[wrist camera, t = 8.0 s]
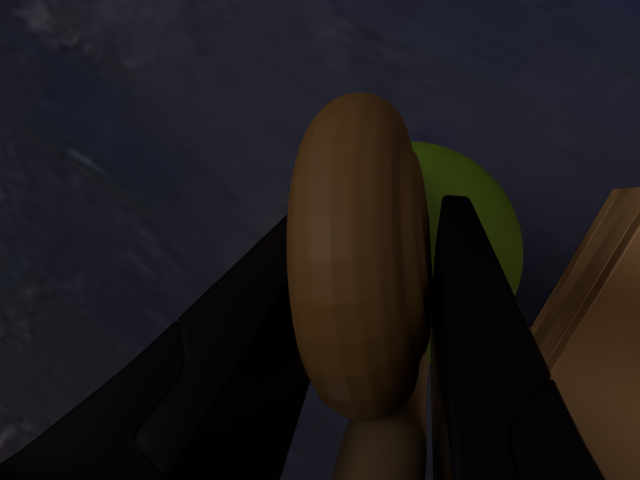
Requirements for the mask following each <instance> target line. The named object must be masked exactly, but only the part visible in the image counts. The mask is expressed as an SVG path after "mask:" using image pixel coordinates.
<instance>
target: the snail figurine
mask: <svg viewBox="0 0 640 480" xmlns="http://www.w3.org/2000/svg"><path fill="white" fill-rule="evenodd" d="M444 195H456V196H467V197H468V198H469V199H470V200H471V202H472V204H473V206H474V208H475V211H476V213H477V215H478V217H479V219H480V221H481V224H482V226H483V228H484V230H485V232H486V234H487V237H488V239H489V241H490V243H491V245H492V247H493V250H494V252H495V254H496V256H497V258H498V260H499V262H500V265H501V267H502V269H503V271H504V273H505V275H506V278H507V280H508V282H509V284H510V286H511V288H512V291H513V293H514V295H516V292H517V289H518V286H519V282H520V278H521V273H522V266H523V241H522V234H521V230H520V226H519V222H518V219H517V216H516V213H515V211H514V209H513V206H512V204H511V202H510V200H509V199H508V197H507V195H506V194H505V192H504V191H503V189H502V188H501V187H500V185H499V184H498V183H497V182H496V180H495V179H494V178H493V177H492V176H491V175H490V174H489V173H488V172H487V171H486V170H485V169H483V168H482V167H481V166H480V165H478V164H477V163H476V162H474V161H473V160H471V159H470V158H468V157H466V156H464V155H463V154H461V153H459V152H456V151H454V150H452V149H449V148H446V147H443V146H440V145H436V144H431V143H426V142H417V141H410V137H409V134H408V131H407V128H406V125H405V123H404V120H403V119H402V117H401V115H400V114H399V113H398V112H397V110H396V109H395V108H394V107H393V106H392V105H391V104H390V103H389V102H388V101H386V100H385V99H383V98H381V97H379V96H377V95H374V94H370V93H351V94H346V95H343V96H341V97H338V98H336V99H334V100H332V101H331V102H329V103H328V104H327V105H326V106H325V107H324V108H323V109H322V110H321V111H320V112H319V113H318V114H317V115H316V116H315V117H314V119H313V120H312V122H311V123H310V125H309V127H308V129H307V131H306V133H305V135H304V138H303V140H302V142H301V145H300V148H299V151H298V155H297V158H296V162H295V166H294V170H293V175H292V181H291V188H290V194H289V204H288V217H287V272H288V287H289V298H290V306H291V313H292V321H293V327H294V332H295V336H296V341H297V345H298V350H299V353H300V356H301V359H302V362H303V365H304V368H305V371H306V373H307V375H308V377H309V379H310V381H311V382H312V384H313V386H314V388H315V390H316V391H317V393H318V395H319V397H320V398H321V399H322V401H323V402H325V403H326V404H327V405H328V406H330V407H331V408H332V409H334V410H335V411H336V412H338V413H339V414H341V415H342V416H344V417H346V418H349V419H350V421H349V423H348V425H347V428H346V431H345V433H344V436H343V439H342V442H341V446H340V449H339V453H338V457H337V461H336V465H335V469H334V474H333V479H332V480H425V473H426V456H427V441H426V388H427V378H428V364H431V362H430V330H431V308H432V305H433V294H432V286H433V271H434V256H435V244H436V237H437V230H438V222H439V215H440V208H441V201H442V197H443V196H444Z"/></svg>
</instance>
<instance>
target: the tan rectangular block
mask: <svg viewBox="0 0 640 480" xmlns="http://www.w3.org/2000/svg"><path fill="white" fill-rule="evenodd" d="M530 329H531V332H532V334H533V336H534V338H535V340H536V342H537V345H538V347H539V349H540V351H541V353H542V355H543V357H544V360H545V362H546V364H547V366H548V368H549V370H550V373H551V378H550V379H553V380H554V381H555V383H556V385H557V387H558V389H559V391H560V394H561V396H562V398H563V400H564V402H565V404H566V406H567V408H568V410H569V412H570V414H571V416H572V418H573V420H574V422H575V424H576V426H577V428H578V430H579V432H580V434H581V436H582V438H583V440H584V442H585V444H586V446H587V448H588V449H589V451H590V453H591V455H592V456H593V458H594V460H595V462H596V463H597V465H598V467H599V469H600V470H601V472H602V474H603V475H604V477H605V479H606V480H640V187H634V188H621V189H613V190H612V191H611V193H610V195H609V196H608V198H607V200H606V201H605V203H604V205H603V206H602V208H601V210H600V212H599V213H598V215H597V217H596V218H595V220H594V222H593V223H592V225H591V227H590V228H589V230H588V232H587V234H586V235H585V237H584V239H583V240H582V242H581V244H580V245H579V247H578V249H577V250H576V252H575V254H574V256H573V257H572V259H571V261H570V262H569V264H568V266H567V267H566V269H565V271H564V272H563V274H562V276H561V278H560V279H559V281H558V283H557V284H556V286H555V288H554V289H553V291H552V293H551V294H550V296H549V298H548V300H547V301H546V303H545V305H544V306H543V308H542V310H541V311H540V313H539V315H538V316H537V318H536V320H535V321H534V323H533V325H532V327H531V328H530Z"/></svg>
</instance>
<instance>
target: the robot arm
mask: <svg viewBox="0 0 640 480" xmlns="http://www.w3.org/2000/svg"><path fill="white" fill-rule="evenodd" d="M287 217H288V214H287V215H286V216H285V217H284V218H283V219H282V220H281V221H280V222H279V223H278V224H277V225H276V226H275V227H273V228H272V229H271V230H270V231H269V232H268V233H267V234H266V235H265V236H264V237H263V238H262V239H261V240H260V241H259V242H258V243H257V244H256V245H255V246H254V247H253V248H251V249H250V250H249V251H248V252H247V253H246V254H245V255H244V256H243V257H242V258H241V259H240V260H239V261H238V262H237V263H236V264H235V265H234V266H233V267H232V268H231V269H229V270H228V271H227V272H226V273H225V274H224V275H223V276H222V277H221V278H220V279H219V280H218V281H217V282H216V283H215V284H214V285H213V286H212V287H211V288H210V289H209V290H207V291H206V292H205V293H204V294H203V295H202V296H201V297H200V298H199V299H198V300H197V301H196V302H195V303H194V304H193V305H192V306H191V307H190V308H189V309H188V310H186V311H185V312H184V313H183V314H182V315H181V316H180V317H179V319H178V321H179V322H177V321H175V322H174V323H173V324H172V325H171V326H169V327H168V328H167V329H166V330H165V331H164V332H163V333H162V334H161V335H160V336H159V337H158V338H157V339H156V340H155V341H154V342H152V343H151V344H150V345H149V346H148V347H147V348H146V349H145V350H144V351H143V352H141V353H140V354H139V355H138V356H137V357H136V358H135V359H134V360H133V361H131V362H130V363H129V364H128V365H127V366H125V367H124V368H123V369H122V370H121V371H119V372H118V373H117V374H116V375H115V376H113V377H112V378H111V379H110V380H109V381H107V382H106V383H105V384H104V385H103V386H101V387H100V388H99V389H98V390H96V391H95V392H94V393H93V394H91V395H90V396H89V397H88V398H86V399H85V400H84V401H82V402H81V403H80V404H79V405H77V406H76V407H75V408H74V409H72V410H71V411H70V412H69V413H67V414H66V415H65V416H64V417H62V418H61V419H60V420H59V421H57V422H56V423H55V424H54V425H52V426H51V427H50V428H48V429H47V430H46V431H45V432H43V433H42V434H41V435H40V436H38V437H37V438H36V439H35V440H33V441H32V442H31V443H30V444H28V445H27V446H25V447H24V448H23V449H21V450H20V451H19V452H17V453H16V454H14V455H13V456H11V457H10V458H8V459H7V460H5V461H4V462H2V463H0V480H280V477H281V474H282V471H283V467H284V464H285V461H286V458H287V454H288V451H289V448H290V445H291V442H292V438H293V435H294V432H295V429H296V425H297V422H298V419H299V416H300V413H301V409H302V406H303V403H304V400H305V396H306V393H307V390H308V387H309V384H310V379H309V377H308V375H307V373H306V371H305V368H304V365H303V362H302V359H301V356H300V353H299V350H298V345H297V341H296V336H295V332H294V327H293V321H292V313H291V306H290V298H289V287H288V272H287ZM432 294H433V305H432V308H431V330H430V362H431V406H432V450H433V480H606V479H605V477H604V475H603V474H602V472H601V470H600V469H599V467H598V465H597V463H596V462H595V460H594V458H593V456H592V455H591V453H590V451H589V449H588V448H587V446H586V444H585V442H584V440H583V438H582V436H581V434H580V432H579V430H578V428H577V426H576V424H575V422H574V420H573V418H572V416H571V414H570V412H569V410H568V408H567V406H566V404H565V402H564V400H563V398H562V396H561V394H560V391H559V389H558V387H557V385H556V383H555V381H554V380H553V379H550V378H551V373H550V370H549V368H548V366H547V364H546V362H545V360H544V357H543V355H542V353H541V351H540V349H539V347H538V345H537V342H536V340H535V338H534V336H533V334H532V332H531V329H530V327H529V325H528V323H527V321H526V319H525V316H524V314H523V312H522V310H521V308H520V306H519V303H518V301H517V299H516V297H515V295H514V293H513V291H512V288H511V286H510V284H509V282H508V280H507V278H506V275H505V273H504V271H503V269H502V267H501V265H500V262H499V260H498V258H497V256H496V254H495V252H494V250H493V247H492V245H491V243H490V241H489V239H488V237H487V234H486V232H485V230H484V228H483V226H482V224H481V221H480V219H479V217H478V215H477V213H476V211H475V208H474V206H473V204H472V202H471V200H470V199H469V198H468V197H467V196H456V195H444V196H443V197H442V201H441V208H440V215H439V222H438V230H437V237H436V244H435V256H434V271H433V286H432Z"/></svg>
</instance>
